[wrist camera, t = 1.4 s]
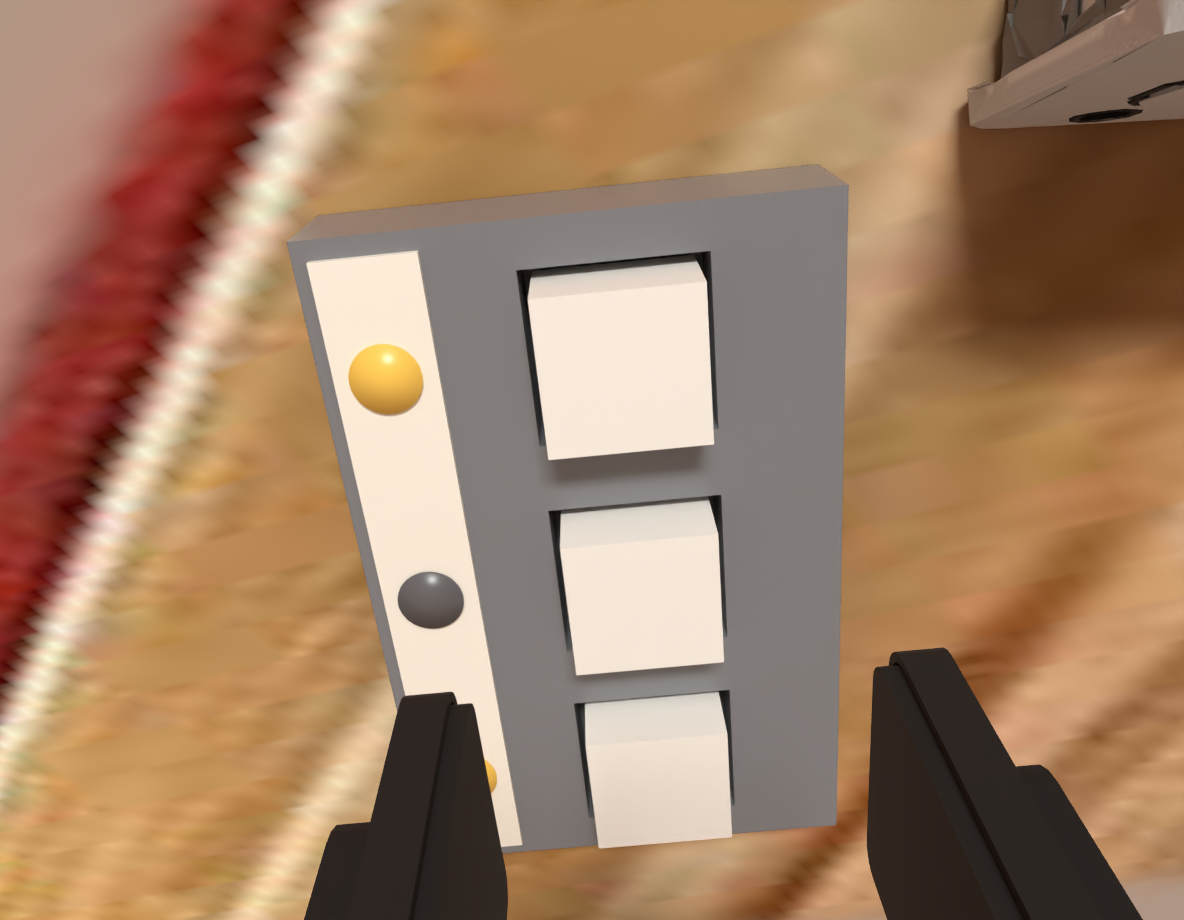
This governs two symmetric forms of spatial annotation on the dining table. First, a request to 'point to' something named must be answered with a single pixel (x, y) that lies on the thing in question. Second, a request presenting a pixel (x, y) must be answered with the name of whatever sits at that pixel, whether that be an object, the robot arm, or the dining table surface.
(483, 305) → the switch panel
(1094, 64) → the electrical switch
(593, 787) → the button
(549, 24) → the dining table surface
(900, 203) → the dining table surface
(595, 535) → the middle button
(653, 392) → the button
